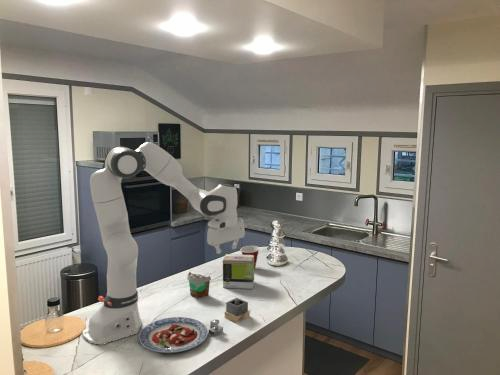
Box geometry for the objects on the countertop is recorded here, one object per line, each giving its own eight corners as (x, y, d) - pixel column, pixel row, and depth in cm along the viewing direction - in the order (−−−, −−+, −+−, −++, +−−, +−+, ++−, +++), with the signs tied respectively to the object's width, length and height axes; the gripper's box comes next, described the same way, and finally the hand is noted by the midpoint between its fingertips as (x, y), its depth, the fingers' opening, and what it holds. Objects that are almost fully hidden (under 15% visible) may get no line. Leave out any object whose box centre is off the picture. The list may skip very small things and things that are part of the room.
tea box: (254, 281, 210) (254, 254, 207) (252, 289, 200) (252, 261, 198) (225, 280, 211) (225, 253, 209) (222, 288, 201) (222, 259, 199)
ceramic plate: (177, 315, 173) (177, 309, 172) (221, 336, 157) (221, 329, 156) (125, 340, 153) (124, 332, 153) (169, 366, 137) (169, 358, 137)
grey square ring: (237, 316, 167) (237, 307, 166) (226, 311, 171) (226, 302, 171) (247, 311, 172) (247, 302, 171) (236, 306, 176) (236, 297, 175)
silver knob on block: (213, 337, 156) (213, 324, 155) (208, 334, 158) (208, 322, 157) (223, 332, 159) (223, 320, 159) (217, 329, 161) (217, 317, 160)
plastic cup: (237, 266, 232) (237, 246, 230) (255, 264, 235) (255, 244, 233) (243, 273, 222) (243, 251, 220) (261, 271, 225) (262, 250, 223)
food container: (182, 295, 192) (181, 275, 191) (189, 290, 198) (189, 271, 196) (203, 300, 187) (203, 280, 185) (211, 296, 192) (211, 275, 190)
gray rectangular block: (216, 329, 162) (216, 326, 162) (210, 329, 162) (210, 326, 161) (216, 324, 166) (216, 321, 165) (210, 324, 166) (210, 321, 165)
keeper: (236, 322, 167) (236, 305, 166) (224, 317, 171) (224, 300, 170) (249, 316, 173) (249, 299, 171) (237, 310, 177) (237, 294, 176)
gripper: (238, 215, 187) (237, 244, 189) (204, 223, 172) (204, 254, 174) (248, 218, 183) (247, 247, 185) (215, 225, 168) (214, 258, 170)
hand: (226, 251), depth 179 cm, fingers open, 8 cm apart
